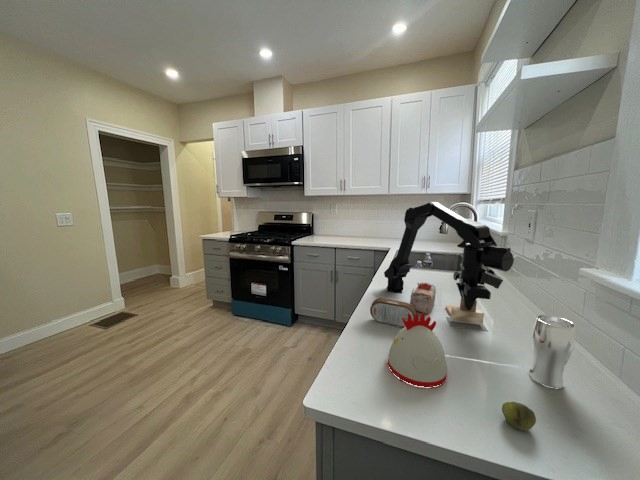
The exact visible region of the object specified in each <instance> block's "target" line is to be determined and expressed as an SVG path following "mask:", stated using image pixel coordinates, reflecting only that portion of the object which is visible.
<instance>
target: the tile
mask: <svg viewBox="0 0 640 480" xmlns="http://www.w3.org/2000/svg"><path fill="white" fill-rule="evenodd" d="M452 307H459V308H460V305H458V306H456V305H445V310H446V311H447V313H448V314H449V316H451V310H452Z"/></svg>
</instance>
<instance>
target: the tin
mask: <svg viewBox="0 0 640 480" xmlns="http://www.w3.org/2000/svg"><path fill="white" fill-rule="evenodd" d="M369 311H370V315H371V317H372V318H373V320H374V321H376V322H377V323H380V324H383V323H384V325H388V324H389V326H395V327H397V326H398V328H402V327H405V324H404V322H403V320H402V317H403V319H404V320H405V321H407V319H408V313H410V315H411V318H412V321H413V320H414V317H415V314H416V312H417V311H415V309H414V307H413V306H412V305H410V302H409V303H408V302H405V301H401V300H395V299H389V298H383V297H380V298H375V299H374V300H373V301H372V303H371V305H370V309H369Z"/></svg>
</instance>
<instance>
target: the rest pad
mask: <svg viewBox="0 0 640 480" xmlns="http://www.w3.org/2000/svg"><path fill="white" fill-rule="evenodd" d="M445 319H446V321H447V322H448V325H449V327H450V328H459V329H467V330H474V331H482V332H489V330H488V329H487V328H486V326H485V325H484V324H483V325H481V324H473V323H465V322H457V321H452V319H451V316H446V317H445Z"/></svg>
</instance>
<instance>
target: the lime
mask: <svg viewBox="0 0 640 480" xmlns="http://www.w3.org/2000/svg"><path fill="white" fill-rule="evenodd" d="M501 412H502V414H503V417H504V419H505V421H507V422H508V424H510V425H511V426H512V427H513V426H514V427H513V428H515V427H516V428H515V429H518V428H519V430H521V429H522V431H528V430H530V429H532V428H533V427H534V426H535V425H536V423H537V417H536V415H535V412H534V411H533V410H532V409H531V408H529V407H528V406H527V405H526V404H523V403H521V402H517V401H508V402H506V401H505V402H504V403H503V404H502V406H501Z"/></svg>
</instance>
